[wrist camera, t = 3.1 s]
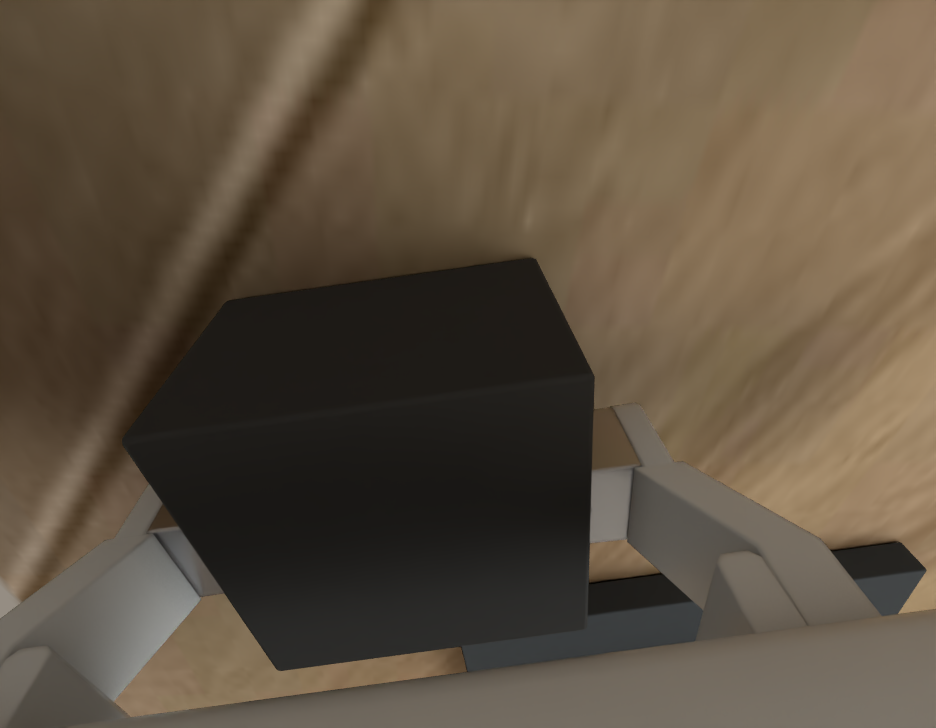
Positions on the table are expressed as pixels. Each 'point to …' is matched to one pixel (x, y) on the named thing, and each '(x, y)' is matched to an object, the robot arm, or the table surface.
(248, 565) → the black box
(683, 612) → the socket base plate
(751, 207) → the table surface
